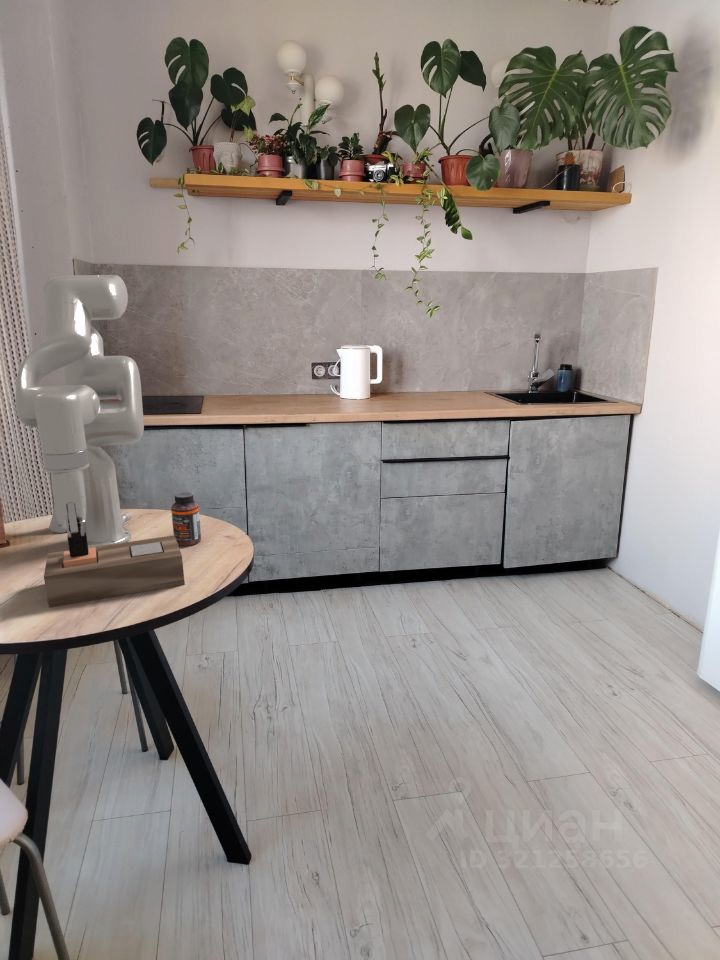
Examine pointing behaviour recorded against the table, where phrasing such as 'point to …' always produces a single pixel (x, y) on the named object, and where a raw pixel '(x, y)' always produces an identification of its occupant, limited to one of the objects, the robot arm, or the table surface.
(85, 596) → the button console
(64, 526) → the flask
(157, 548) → the metal button
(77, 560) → the terracotta button
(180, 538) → the supplement bottle
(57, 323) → the robot arm
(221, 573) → the table surface
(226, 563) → the table surface
